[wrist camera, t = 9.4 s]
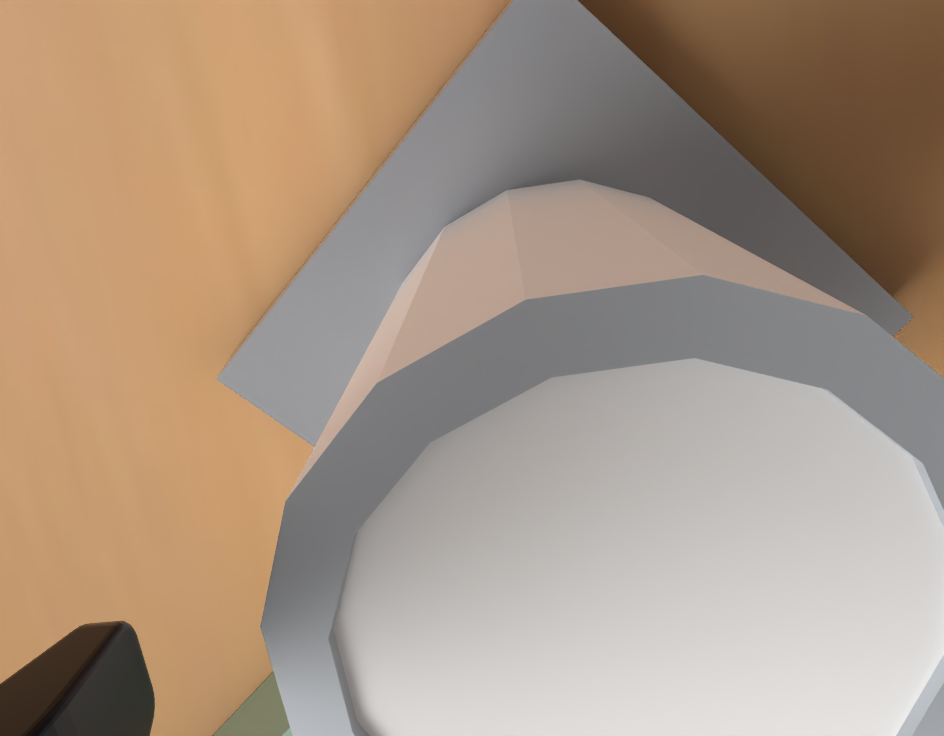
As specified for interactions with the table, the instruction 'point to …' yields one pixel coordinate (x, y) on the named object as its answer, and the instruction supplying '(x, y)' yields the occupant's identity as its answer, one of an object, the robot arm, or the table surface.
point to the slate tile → (517, 166)
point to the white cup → (615, 497)
